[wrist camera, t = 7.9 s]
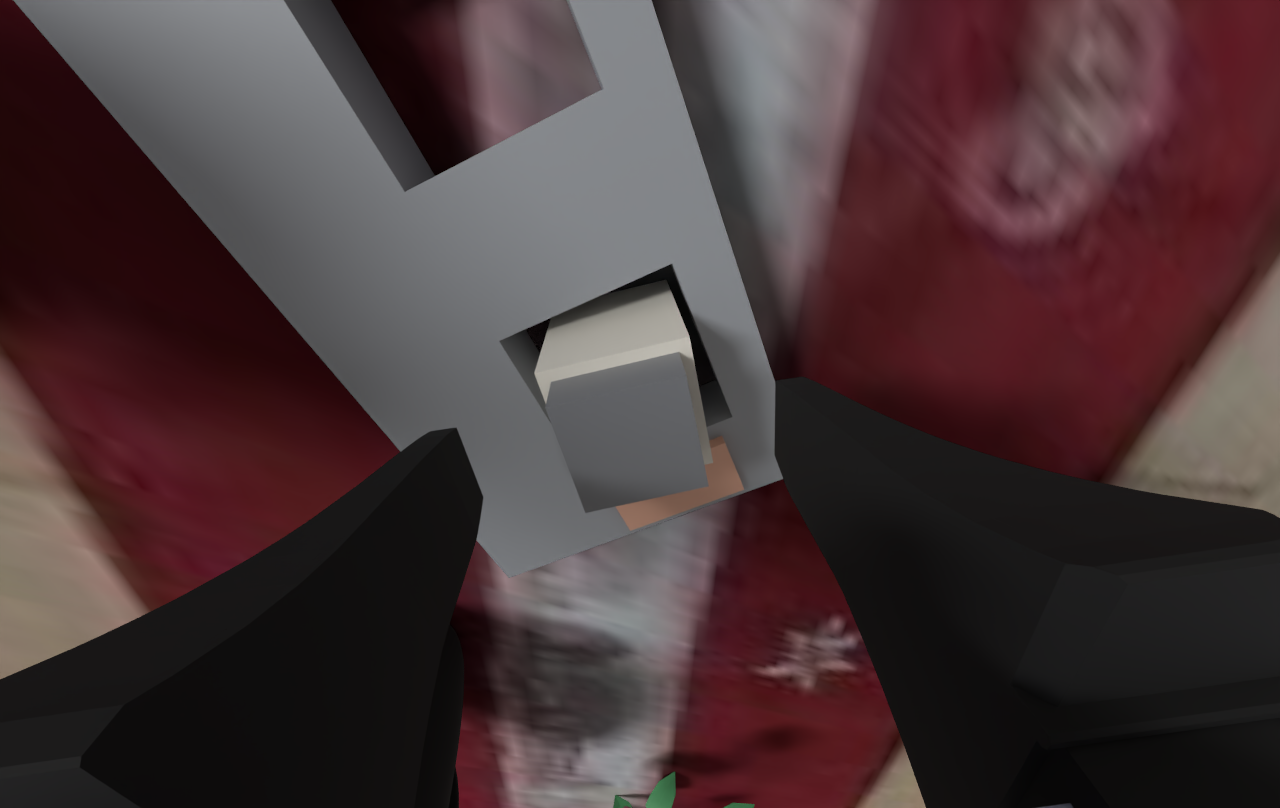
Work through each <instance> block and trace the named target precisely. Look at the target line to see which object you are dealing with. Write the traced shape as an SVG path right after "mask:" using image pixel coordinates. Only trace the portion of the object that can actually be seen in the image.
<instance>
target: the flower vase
mask: <svg viewBox="0 0 1280 808" xmlns="http://www.w3.org/2000/svg"><path fill="white" fill-rule="evenodd" d="M675 795H676V790H675V772H673V773H671V774H670V775H668V776H667V777H665V778H664V779H662V780H660V781H659V782H658V784H657V785H656V787H655V788H654V790H653V791H652V793H651V795H650V796H649V799H648V801H647V803H646V805H645V806H646V807H647V808H672V804H673V801H674V798H675ZM613 808H632V806H631V805H630V803H629V802H628V801H626V800H624V799H622V798H621V797H619V796H617V795H615V800H614V807H613ZM723 808H754V804H743V803H731V804H729V805H727V806H725V807H723Z"/></svg>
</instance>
